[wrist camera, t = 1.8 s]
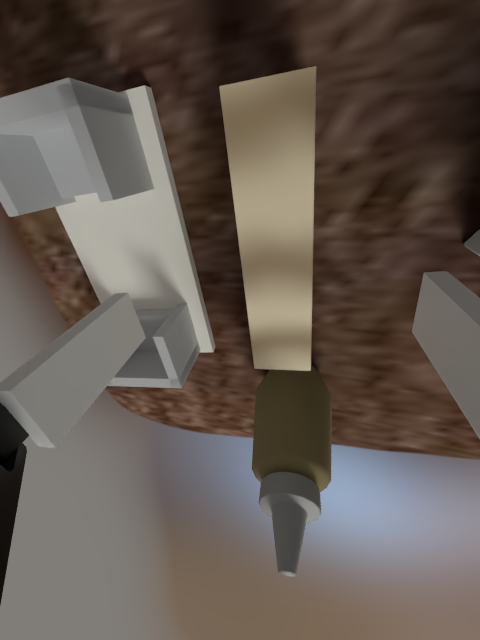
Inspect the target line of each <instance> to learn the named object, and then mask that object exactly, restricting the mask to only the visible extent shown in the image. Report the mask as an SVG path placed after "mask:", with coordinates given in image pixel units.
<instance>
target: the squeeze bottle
mask: <svg viewBox="0 0 480 640" xmlns="http://www.w3.org/2000/svg"><path fill="white" fill-rule="evenodd" d="M331 433H332V401H331V394H330V391H329V390H328V388H327V386H326V385H325V383H324V381H323V380H322V378H321V376H320V375H319V373H318V371H317V370H316V369H315V368H314V366H313V365H311V371H299V370H272V369H270V370H269V371H268V373H267V374H266V376H265V377H264V379H263V380H262V381H261V383H260V384H259V386H258V389H257V393H256V402H255V421H254V440H253V460H252V470H253V472H254V474H255V477H256V478H257V479H258V480H259V481H260V482H261V488H260V497H259V505H260V506H261V509H262V510H263V511H264V512H265V513H266V514H267V515H269V516H271V517H272V520H273V529H274V539H275V548H276V558H277V567H278V572H279V573H280V574H283V575H285V576H296V574H297V568H298V563H299V558H300V552H301V546H302V541H303V536H304V530H305V525H306V523H310V522H313V521H315V520H317V519H318V517H319V516H320V515H321V505H320V504H321V503H320V492H321V491H323V490H324V489H325V488H326V487H327V486H328V484H329V483H330V481H331Z"/></svg>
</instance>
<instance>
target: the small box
mask: <svg viewBox="0 0 480 640" xmlns="http://www.w3.org/2000/svg"><path fill="white" fill-rule="evenodd" d="M464 246H465V247H467V248H468V249H470V250H471V251H473V252H474V253H476V254H477V255H479V256H480V229H479V230H478V231H477V232H476V233H475V234H474V235H473V236H472V237H470V238H469V239H468V240H467V241H466V242H465V243H464Z"/></svg>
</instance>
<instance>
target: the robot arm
mask: <svg viewBox="0 0 480 640" xmlns="http://www.w3.org/2000/svg"><path fill="white" fill-rule="evenodd" d="M412 333H413V334H414V336H415V337H416V339H417V341H418V342H419V344H420V345H421V347H422V349H423V350H424V352H425V353H426V355H427V356H428V358H429V360H430V361H431V363H432V364H433V366H434V368H435V369H436V371H437V372H438V374H439V375H440V377H441V379H442V380H443V382H444V383H445V385H446V387H447V388H448V390H449V391H450V393H451V394H452V396H453V398H454V399H455V401H456V402H457V404H458V406H459V407H460V409H461V410H462V412H463V413H464V415H465V417H466V418H467V420H468V421H469V423H470V425H471V426H472V428H473V429H474V431H475V432H476V434H477V436H478V437H479V439H480V298H479V297H478V296H477V295H476V294H474V293H473V292H472V291H471V290H469V289H468V288H467V287H466V286H464V285H463V284H462V283H461V282H459V281H458V280H457V279H456V278H454V277H453V276H452V275H451V274H450V273H448V272H447V271H442V272H428V273H424V275H423V280H422V285H421V290H420V295H419V299H418V304H417V309H416V314H415V319H414V324H413V329H412ZM145 338H146V337H145V334H144V332H143V329H142V327H141V324H140V322H139V319H138V317H137V314H136V312H135V309H134V307H133V304H132V302H131V299H130V297H129V294H128V293H115V294H114V295H112V296H111V297H110V298H108V299H107V300H106V301H105V302H103V303H102V304H101V305H99V306H98V307H97V308H96V309H94V310H93V311H92V312H90V313H89V314H88V315H87V316H85V317H84V318H83V319H81V320H80V321H79V322H78V323H76V324H75V325H74V326H72V327H71V328H70V329H69V330H67V331H66V332H65V333H63V334H62V335H61V336H60V337H58V338H57V339H56V340H54V341H53V342H52V343H51V344H49V345H48V346H47V347H46V348H44V349H43V350H42V351H40V352H39V353H38V354H36V355H35V356H34V357H33V358H31V359H30V360H29V361H27V362H26V363H25V364H24V365H22V366H21V367H20V368H18V369H17V370H16V371H15V372H13V373H12V374H11V375H9V376H8V377H7V378H6V379H4V380H3V381H2V382H0V604H1V598H2V592H3V586H4V580H5V574H6V569H7V563H8V557H9V552H10V546H11V540H12V534H13V528H14V523H15V516H16V511H17V505H18V499H19V493H20V488H21V482H22V476H23V471H24V465H25V459H26V453H27V450H26V446H25V445H24V444H23V443H22V442H23V441H24V440H25V439H26V438H27V437H28V436H30V437H31V439H32V440H33V441H34V442H35V443H36V444H37V446H39V447H49V448H56V447H57V446H58V445H59V444H60V443H61V441H62V440H63V439H64V437H65V436H66V435H67V434H68V433H69V431H70V430H71V429H72V428H73V426H74V425H75V424H76V423H77V422H78V420H79V419H80V418H81V417H82V415H83V414H84V413H85V412H86V411H87V409H88V408H89V407H90V406H91V404H92V403H93V402H94V401H95V400H96V398H97V397H98V396H99V395H100V393H101V392H102V391H103V390H104V389H105V387H106V386H107V385H108V384H109V382H110V381H111V380H112V379H113V377H114V376H115V375H116V374H117V373H118V371H119V370H120V369H121V368H122V366H123V365H124V364H125V363H126V362H127V360H128V359H129V358H130V357H131V355H132V354H133V353H134V352H135V350H136V349H137V348H138V347H139V346H140V344H141V343H142V342H143V341H144V339H145Z"/></svg>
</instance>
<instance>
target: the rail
mask: <svg viewBox="0 0 480 640" xmlns="http://www.w3.org/2000/svg"><path fill="white" fill-rule="evenodd" d="M219 89H220V97H221V105H222V113H223V121H224V129H225V137H226V145H227V153H228V161H229V169H230V177H231V185H232V193H233V201H234V209H235V217H236V225H237V233H238V241H239V249H240V257H241V265H242V273H243V281H244V289H245V297H246V305H247V313H248V321H249V329H250V337H251V345H252V353H253V361H254V369H272V370H299V371H311V331H312V274H313V217H314V160H315V103H316V66H314V67H309V68H305V69H300V70H295V71H290V72H286V73H281V74H276V75H271V76H266V77H262V78H257V79H252V80H247V81H242V82H238V83H233V84H228V85H223V86H219Z"/></svg>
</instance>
